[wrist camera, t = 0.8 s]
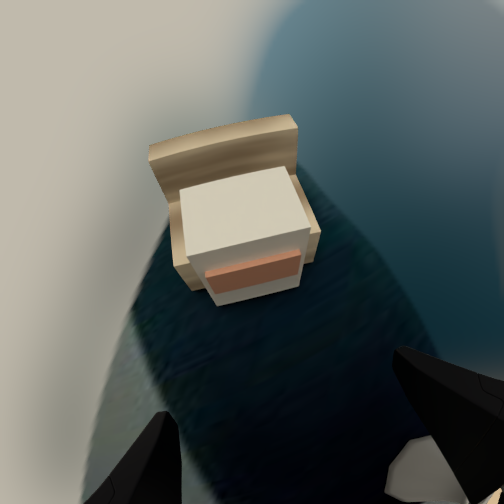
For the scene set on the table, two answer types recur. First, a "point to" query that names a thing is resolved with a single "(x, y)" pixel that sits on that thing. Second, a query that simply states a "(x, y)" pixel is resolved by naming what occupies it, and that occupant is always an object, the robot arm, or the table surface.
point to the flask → (423, 475)
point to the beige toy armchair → (225, 170)
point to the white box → (245, 234)
